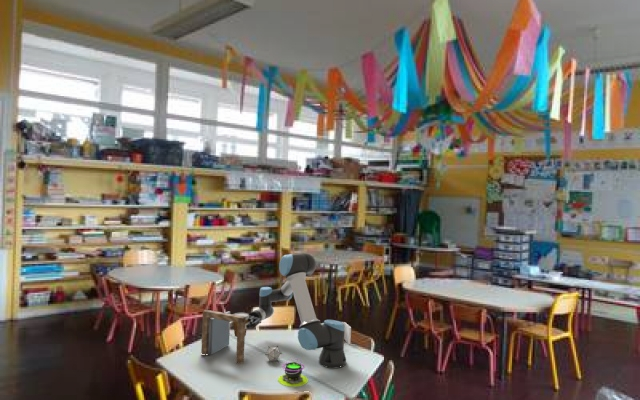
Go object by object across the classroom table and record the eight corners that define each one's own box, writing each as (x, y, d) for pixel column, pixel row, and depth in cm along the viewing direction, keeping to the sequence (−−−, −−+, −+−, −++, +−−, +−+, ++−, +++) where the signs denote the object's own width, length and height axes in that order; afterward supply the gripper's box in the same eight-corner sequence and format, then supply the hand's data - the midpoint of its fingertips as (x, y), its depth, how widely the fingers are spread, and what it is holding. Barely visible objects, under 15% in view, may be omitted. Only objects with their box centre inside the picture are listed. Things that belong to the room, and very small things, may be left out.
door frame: (243, 362, 250) (245, 316, 249) (240, 363, 247) (242, 318, 246) (204, 353, 260) (206, 309, 259) (201, 354, 257) (202, 310, 256)
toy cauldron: (272, 378, 231) (272, 357, 230) (295, 371, 241) (296, 351, 240) (290, 389, 219) (291, 367, 219) (314, 381, 229) (315, 360, 229)
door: (209, 355, 256) (211, 319, 255) (204, 354, 257) (205, 318, 256) (229, 344, 273) (230, 311, 272) (224, 343, 274) (225, 310, 273)
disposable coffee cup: (248, 332, 268) (249, 312, 268) (248, 338, 259) (249, 317, 258) (232, 332, 267) (232, 312, 266) (231, 338, 257) (232, 317, 257)
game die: (274, 368, 252) (278, 358, 245) (261, 361, 253) (264, 351, 247) (282, 356, 259) (285, 346, 252) (268, 349, 260) (271, 339, 254)
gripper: (271, 325, 275) (251, 336, 254) (241, 319, 283) (220, 329, 262) (272, 312, 275) (252, 323, 254) (242, 307, 283) (220, 317, 262)
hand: (236, 326), depth 258 cm, fingers closed on disposable coffee cup, 8 cm apart
